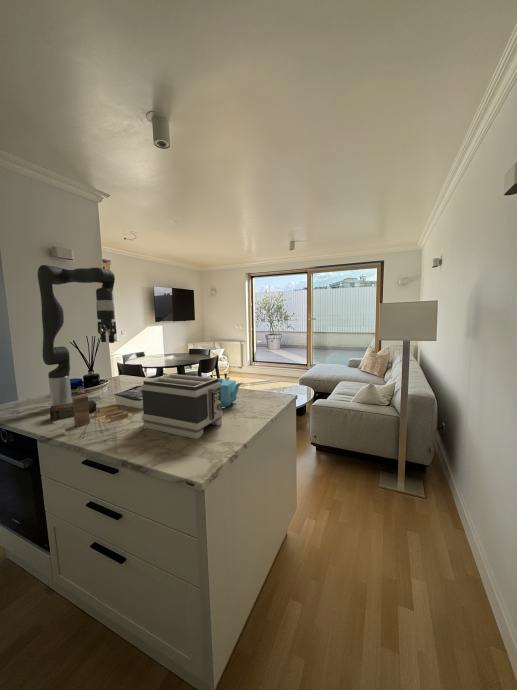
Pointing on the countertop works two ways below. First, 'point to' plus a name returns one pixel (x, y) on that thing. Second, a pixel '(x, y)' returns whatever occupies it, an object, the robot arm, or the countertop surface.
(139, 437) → the countertop surface
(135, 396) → the food packaging
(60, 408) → the beverage carton
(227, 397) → the teakettle
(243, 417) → the countertop surface
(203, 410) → the toaster
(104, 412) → the oak rack
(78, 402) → the brown wooden block
